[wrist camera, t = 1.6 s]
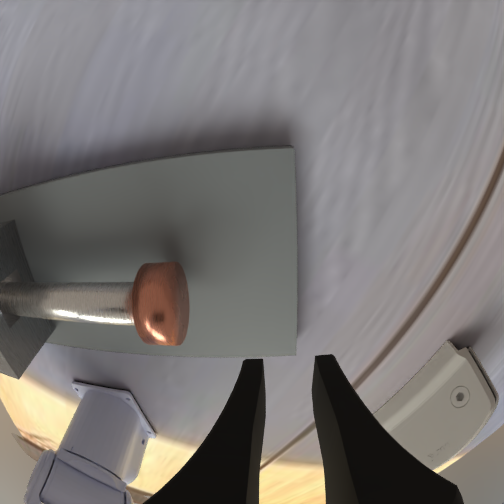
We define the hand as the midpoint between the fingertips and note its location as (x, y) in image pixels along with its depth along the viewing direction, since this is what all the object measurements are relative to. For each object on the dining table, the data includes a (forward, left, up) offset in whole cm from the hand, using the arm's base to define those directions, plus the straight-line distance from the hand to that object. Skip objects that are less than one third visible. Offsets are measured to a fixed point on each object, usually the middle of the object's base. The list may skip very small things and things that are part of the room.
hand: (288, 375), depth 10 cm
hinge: (-18, -15, -10) cm, 26 cm away
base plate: (0, +12, -9) cm, 15 cm away
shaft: (0, +13, -7) cm, 15 cm away
